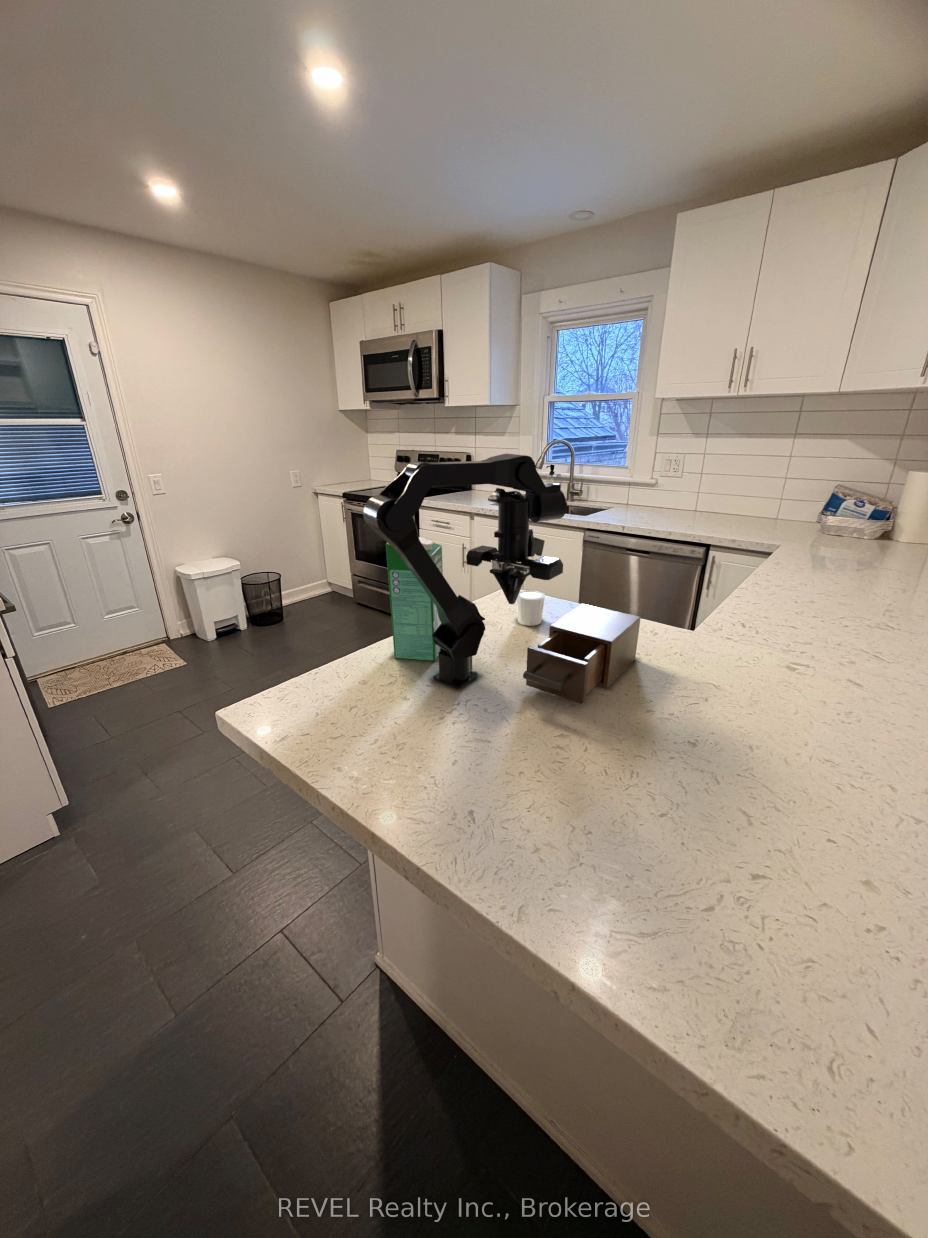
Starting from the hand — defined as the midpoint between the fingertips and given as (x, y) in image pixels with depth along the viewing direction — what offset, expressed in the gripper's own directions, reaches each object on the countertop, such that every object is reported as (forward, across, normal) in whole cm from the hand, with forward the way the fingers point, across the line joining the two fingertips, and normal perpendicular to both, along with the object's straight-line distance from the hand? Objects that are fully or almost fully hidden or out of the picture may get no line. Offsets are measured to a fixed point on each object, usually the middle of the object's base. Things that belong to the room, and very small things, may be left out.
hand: (512, 603), depth 98 cm
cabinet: (+13, -14, -9) cm, 21 cm away
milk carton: (+13, +19, +7) cm, 24 cm away
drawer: (+12, -14, +3) cm, 19 cm away
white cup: (+13, +8, -21) cm, 26 cm away
